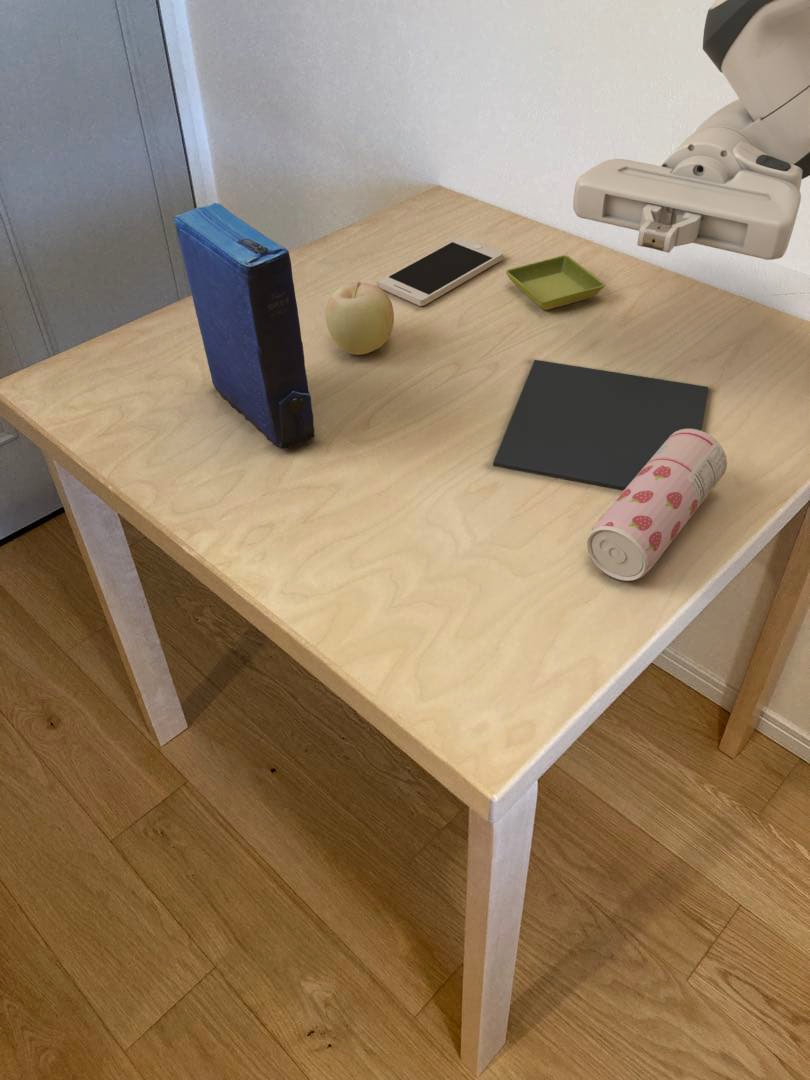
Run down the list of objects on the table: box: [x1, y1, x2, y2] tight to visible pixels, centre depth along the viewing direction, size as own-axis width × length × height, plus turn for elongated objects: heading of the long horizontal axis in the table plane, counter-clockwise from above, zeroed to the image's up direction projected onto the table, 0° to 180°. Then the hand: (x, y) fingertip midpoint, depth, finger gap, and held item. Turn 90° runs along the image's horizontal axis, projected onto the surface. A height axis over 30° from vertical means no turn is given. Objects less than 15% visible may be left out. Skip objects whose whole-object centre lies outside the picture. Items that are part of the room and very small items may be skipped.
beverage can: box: [586, 429, 728, 582], centre depth 75 cm, size 6×6×15 cm
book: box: [173, 202, 316, 450], centre depth 83 cm, size 14×5×20 cm, turn 37°
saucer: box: [505, 255, 606, 311], centre depth 105 cm, size 9×9×2 cm
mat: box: [492, 359, 709, 491], centre depth 87 cm, size 18×18×1 cm
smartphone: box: [378, 236, 504, 307], centre depth 110 cm, size 7×16×1 cm, turn 137°
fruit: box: [324, 281, 395, 356], centre depth 96 cm, size 8×7×8 cm
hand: (653, 241), depth 79 cm, fingers closed
